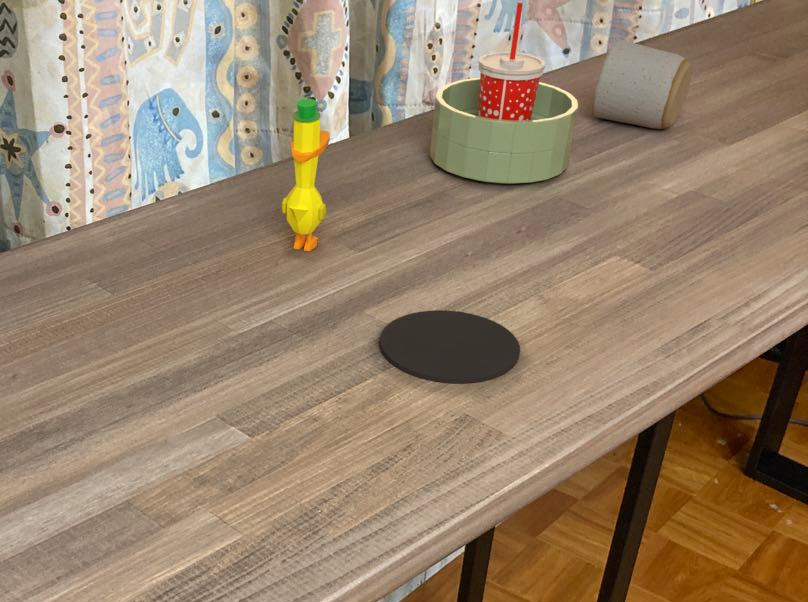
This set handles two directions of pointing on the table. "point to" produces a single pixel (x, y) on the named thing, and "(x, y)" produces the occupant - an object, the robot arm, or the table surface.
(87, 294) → the table surface
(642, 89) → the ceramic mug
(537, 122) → the bowl
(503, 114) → the beverage cup
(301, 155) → the toy figure
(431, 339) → the coaster
